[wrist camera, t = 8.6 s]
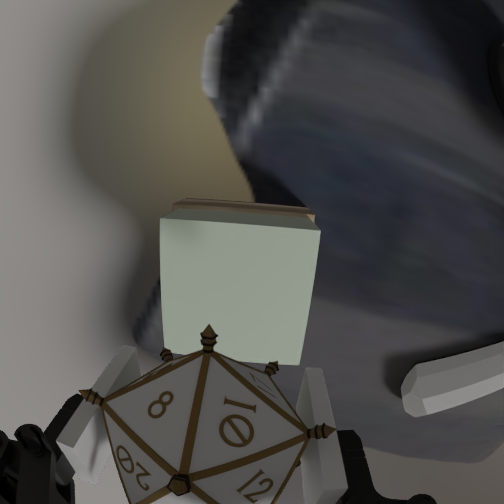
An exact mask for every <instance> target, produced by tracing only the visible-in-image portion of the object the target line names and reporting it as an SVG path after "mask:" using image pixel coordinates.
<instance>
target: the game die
mask: <svg viewBox="0 0 504 504" xmlns="http://www.w3.org/2000/svg"><path fill="white" fill-rule="evenodd" d="M200 335H201V338H202V339H200V341H201V345H203V349H202V350H199V351H196V352H193V353H190V354H187V355H184V356H181V357H178V358H175V359H173V356H172V353H171V350H170V349H167V348H165V347H163V350H162V352H161V354H160V356H162V360H164V361H165V363H163V364H162V365H160V366H159V367H157V368H155V369H153V370H152V371H150V372H148V373H147V374H145V375H143V376H142V377H140V378H138V379H136V380H135V381H133V382H131V383H129V384H128V385H126V386H124V387H122V388H121V389H119V390H117V391H115V392H114V393H112V394H110V395H108V396H107V397H105V398H103V397H101V396H100V395H99V394H98V392H94V391H93V390H92V388H91V389H89V390H88V389H87V390H79V392H80V393H81V395H82V396H83V397H84V398H85V400H86V402H87V401H88V402H90V403H92V405H94V404H96V405H99V406H101V411H102V415H103V419H104V424H105V428H106V432H107V436H108V440H109V443H110V447H111V451H112V454H113V457H114V461H115V464H116V467H117V470H118V474H119V477H120V480H121V483H122V485H123V488H124V491H125V494H126V496H127V498H128V502H129V504H275V503H276V501H277V500H278V498H279V496H280V494H281V493H282V491H283V489H284V487H285V486H286V484H287V482H288V480H289V479H290V477H291V475H292V473H293V471H294V469H295V468H296V467H298V466H299V465H300V464H301V461H300V458H301V456H302V454H303V452H304V450H305V448H306V446H307V444H308V442H309V440H310V438H316V440H317V439H321V438H323V439H325V438H328V436H329V435H330V434H332V433H333V432H334V431H335V430H337V429H336V428H333V427H331V426H328V425H325V423H323V424H322V425H319V426H318V424H317V425H316V426H315V427H313V428H311V429H308V428H307V427H306V425H305V424H304V423H303V421H302V420H301V419H300V417H299V416H298V415H297V413H296V412H295V411H294V409H293V408H292V406H291V405H290V404H289V402H288V401H287V400H286V398H285V397H284V395H283V394H282V393H281V391H280V390H279V388H278V387H277V386H276V384H275V383H274V381H273V380H272V379H271V377H270V376H271V375H273V374H276V371H279V369H278V361H275V362H269V363H268V366H267V365H266V368H265V371H264V372H263V371H260V370H258V369H256V368H253V367H251V366H248V365H246V364H243V363H241V362H239V361H236V360H234V359H232V358H229V357H227V356H225V355H223V354H220V353H218V352H216V351H214V349H213V348H214V346H215V344H217V341H216V337H218V335H217V334H216V333H215V332H214V330H213V329H212V327H211V325H210V324H208V326H207V327H206V328H205V330H204V331H203V332H201V333H200Z"/></svg>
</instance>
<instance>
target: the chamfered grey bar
mask: <svg viewBox="0 0 504 504" xmlns="http://www.w3.org/2000/svg"><path fill="white" fill-rule="evenodd" d="M474 362H475V363H474ZM442 371H443V372H442ZM438 372H439V373H438ZM434 373H435V374H434ZM421 376H422V377H421ZM502 388H504V341H503V342H500V343H497V344H494V345H490V346H487V347H484V348H480V349H477V350H473V351H470V352H466V353H462V354H459V355H455V356H451V357H447V358H443V359H438V360H434V361H429V362H425V363H420V364H416V365H415V366H414V367H413V368H412V369H411V370H410V371H409V373H408V374H407V376H406V377H405V379H404V381H403V383H402V386H401V394H402V400H403V405H404V409H405V411H406V412H407V413H409V414H410V415H412V416H414V417H419V416H424V415H428V414H432V413H435V412H439V411H442V410H445V409H448V408H451V407H454V406H457V405H460V404H463V403H466V402H469V401H472V400H474V399H477V398H480V397H482V396H485V395H487V394H490V393H492V392H495V391H497V390H499V389H502Z"/></svg>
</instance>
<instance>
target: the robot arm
mask: <svg viewBox="0 0 504 504" xmlns="http://www.w3.org/2000/svg"><path fill="white" fill-rule="evenodd" d="M488 67H489V74H490V79H491V83H492V87H493V90H494V93H495V95H496V98H497V101H498V103H499V105H500V107H501V109H502V111H503V113H504V39H501V40H499V41H497V42H495V43H494V44H493V45H492V46H491V48H490V51H489V56H488ZM140 377H141V375H140V369H139V362H138V355H137V348H135V347H130V346H125V345H122V346H121V348H120V349H119V350H118V352H117V353H116V355H115V356H114V357H113V359H112V360H111V361H110V363H109V364H108V366H107V367H106V369H105V370H104V371H103V373H102V374H101V375H100V377H99V378H98V380H97V381H96V382H95V384H94V385H93V387H92V390H93V391H94V392H98V394H99V395H100V396H101V397H103V398H105V397H107V396H108V395H110V394H112V393H114V392H115V391H117V390H119V389H121V388H122V387H124V386H126V385H128V384H129V383H131V382H133V381H135V380H136V379H138V378H140ZM296 413H297V415H298V416H299V417H300V419H301V420H302V421H303V423H304V424H305V425H306V427H307V428H308V429H311V428H313V427H315V426H316V425H317V424H318V426H319V425H322V424H323V423H325V425H328V426H331V427H333V428H336V427H335V423H334V418H333V414H332V410H331V405H330V401H329V397H328V392H327V388H326V384H325V380H324V376H323V372H322V368H305V373H304V377H303V381H302V385H301V390H300V394H299V398H298V402H297V406H296ZM14 435H15V437H16V439H17V440H18V441H15V440H10V439H8V437H7V435H6V434H5V433H4V432H3V431H1V430H0V504H75V485H74V480H73V479H72V477H73V476H74V474H75V473H76V474H77V476H78V477H79V479H81V480H84V481H86V482H88V483H91V484H93V485H96V484H97V482H98V480H99V477H100V475H101V473H102V471H103V469H104V467H105V465H106V463H107V460H108V458H109V456H110V454H111V452H112V451H111V447H110V443H109V440H108V436H107V432H106V428H105V424H104V419H103V415H102V411H101V406H99V405H96V404H94V405H92V403H90V402H88V401H87V402H86V400H85V398H84V397H83V396H82V395H79V394H75V395H74V396H72V397H70V398H69V399H68V400H67V401H66V402H65V404H64V405H63V406H62V409H60V410H59V412H58V414H57V415H56V416H55V417H54V419H53V420H52V422H51V423H50V424H49V426H48V427H47V429H46V430H45V431H44V433H43V432H42V430H41V428H39V427H38V426H37V425H33V424H24V425H22V426H20V427H19V428H18V429H17V430H16V431H15V433H14ZM301 468H302V480H303V492H304V504H437V503H436V501H435V500H434V499H433V498H432V497H431V496H429V495H426V494H418V495H415V496H413V497H411V498H410V499H409V500H397V499H388V498H385V497H383V496H381V495H380V494H379V493H378V492H377V491H376V490H375V488H374V486H373V483H372V479H371V475H370V471H369V467H368V464H367V460H366V458H365V453H364V450H363V446H362V442H361V439H360V437H359V436H358V435H357V434H356V433H355V431H354V430H341V431H336V430H335V431H334V432H333V433H332V434H330V435H329V436H328V438H325V439H323V438H321V439H317V440H316V438H310V440H309V442H308V444H307V446H306V448H305V450H304V452H303V454H302V456H301Z"/></svg>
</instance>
